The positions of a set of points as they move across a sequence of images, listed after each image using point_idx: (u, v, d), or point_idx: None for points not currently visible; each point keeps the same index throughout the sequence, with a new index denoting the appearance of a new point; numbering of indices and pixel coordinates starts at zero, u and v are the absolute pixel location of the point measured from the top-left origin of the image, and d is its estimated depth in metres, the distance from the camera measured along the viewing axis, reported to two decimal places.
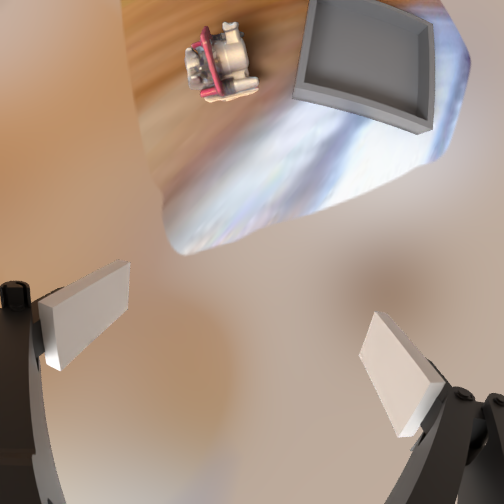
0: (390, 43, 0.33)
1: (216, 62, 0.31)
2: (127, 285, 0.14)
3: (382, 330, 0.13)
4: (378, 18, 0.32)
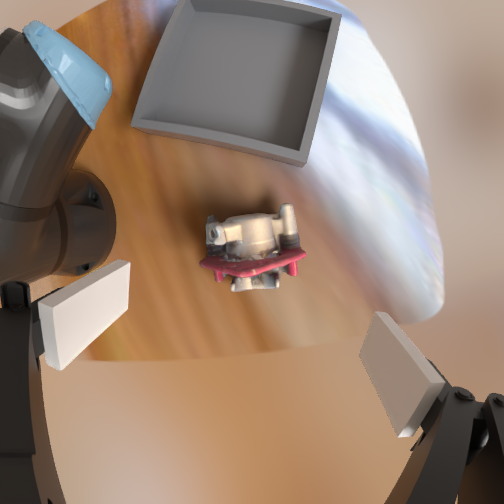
0: (215, 42, 0.30)
1: (265, 255, 0.30)
2: (127, 285, 0.14)
3: (382, 330, 0.13)
4: (176, 53, 0.31)
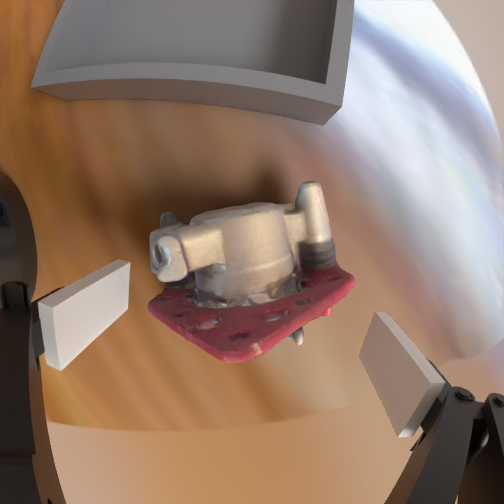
0: None
1: (276, 289, 0.14)
2: (127, 285, 0.14)
3: (382, 330, 0.13)
4: None
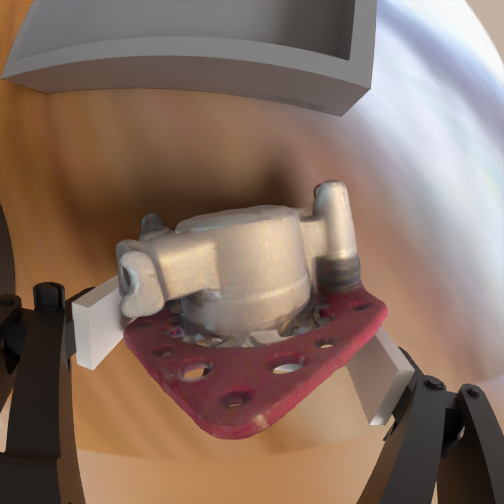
0: None
1: (288, 323, 0.10)
2: None
3: None
4: None
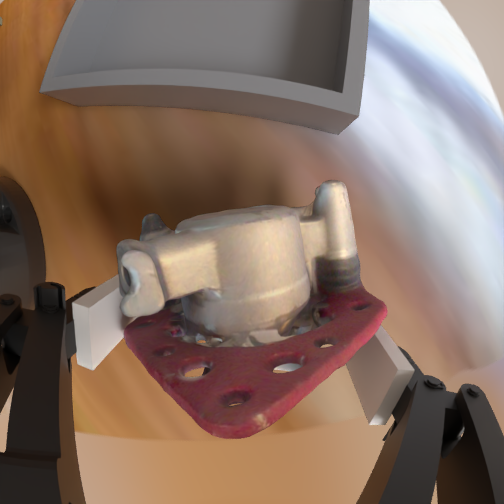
0: None
1: (288, 322, 0.10)
2: None
3: None
4: None
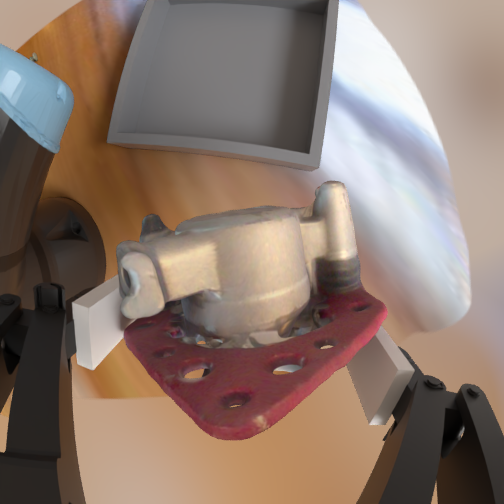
0: (196, 36, 0.25)
1: (288, 324, 0.10)
2: None
3: None
4: (153, 52, 0.26)
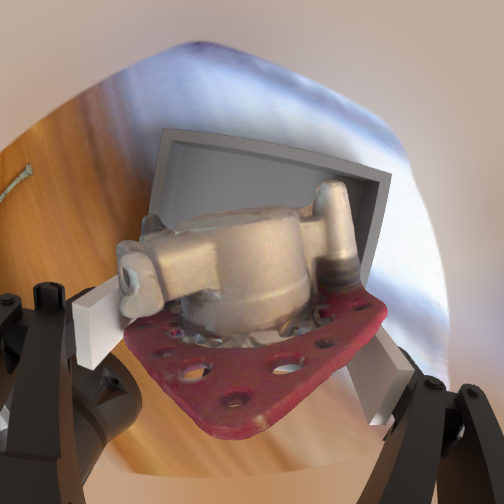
0: (219, 206, 0.28)
1: (287, 323, 0.10)
2: None
3: None
4: (170, 220, 0.29)
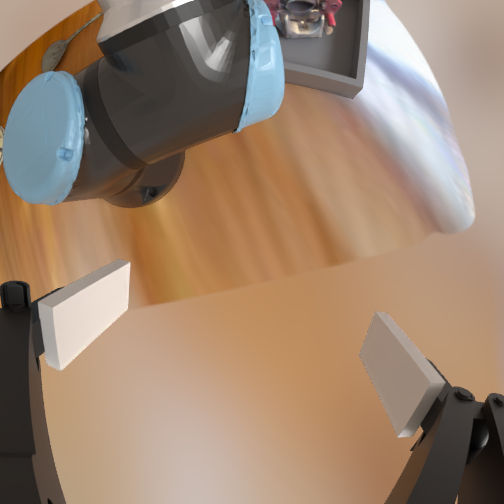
0: None
1: None
2: (127, 285, 0.14)
3: (381, 330, 0.13)
4: None
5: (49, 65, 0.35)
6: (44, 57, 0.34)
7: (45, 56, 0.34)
